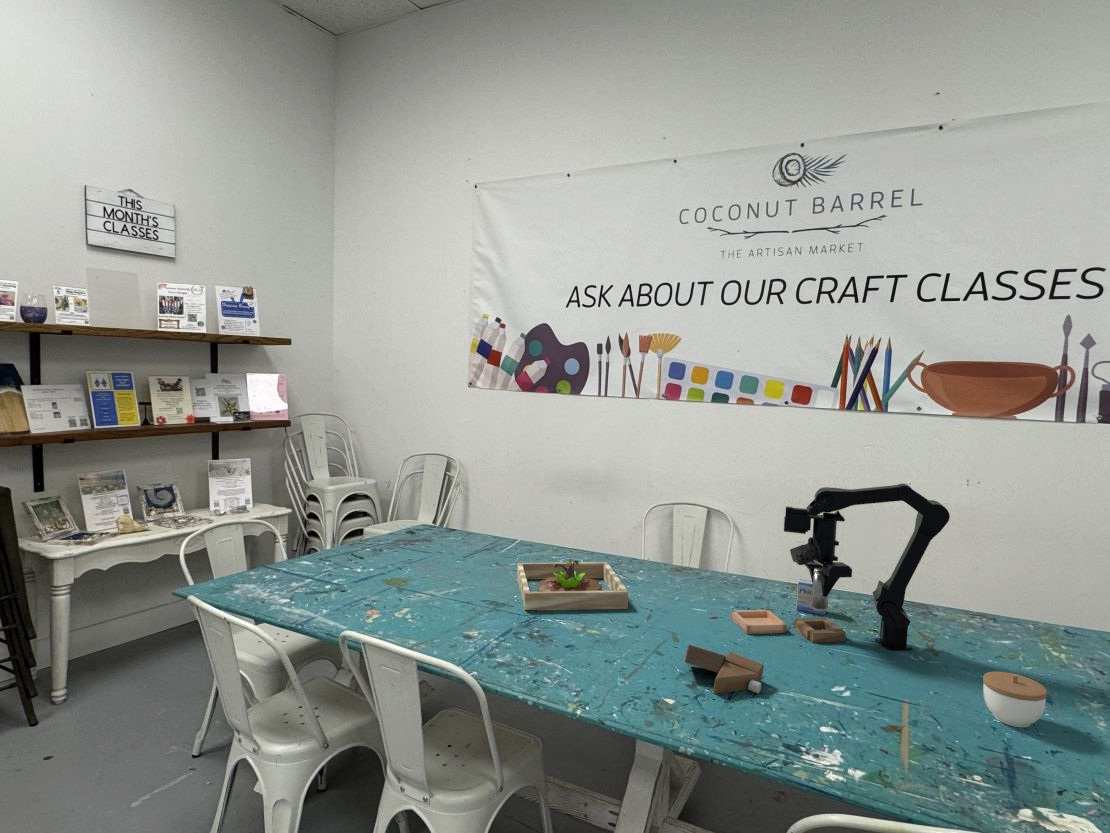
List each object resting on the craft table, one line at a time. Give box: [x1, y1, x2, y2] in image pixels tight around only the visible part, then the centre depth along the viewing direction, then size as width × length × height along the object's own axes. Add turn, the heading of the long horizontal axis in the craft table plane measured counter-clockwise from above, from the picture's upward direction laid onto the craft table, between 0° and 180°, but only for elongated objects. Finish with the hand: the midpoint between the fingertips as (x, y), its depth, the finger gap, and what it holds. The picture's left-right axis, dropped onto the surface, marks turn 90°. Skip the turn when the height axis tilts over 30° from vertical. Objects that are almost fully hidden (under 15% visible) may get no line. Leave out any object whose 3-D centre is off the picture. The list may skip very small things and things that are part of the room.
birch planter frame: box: [516, 561, 629, 611], centre depth 207 cm, size 30×30×5 cm
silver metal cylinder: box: [812, 568, 830, 610], centre depth 178 cm, size 4×4×10 cm
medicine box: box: [795, 578, 827, 616], centre depth 196 cm, size 8×4×9 cm, turn 62°
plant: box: [537, 558, 603, 592], centre depth 207 cm, size 20×20×11 cm
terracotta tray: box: [730, 609, 788, 635], centre depth 184 cm, size 11×11×2 cm
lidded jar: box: [982, 671, 1048, 728], centre depth 136 cm, size 11×11×9 cm
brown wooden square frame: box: [793, 617, 846, 643], centre depth 179 cm, size 10×10×2 cm
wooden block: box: [684, 644, 764, 695], centre depth 150 cm, size 8×13×18 cm
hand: (820, 593), depth 178 cm, fingers closed on silver metal cylinder, 4 cm apart
